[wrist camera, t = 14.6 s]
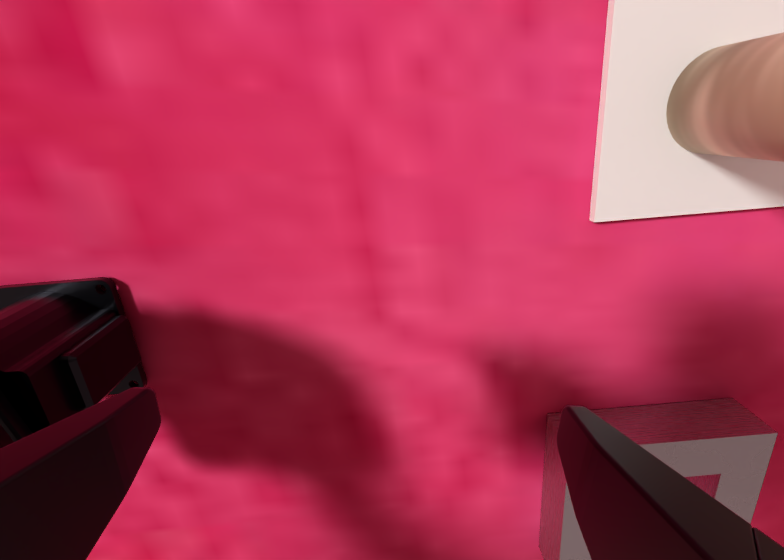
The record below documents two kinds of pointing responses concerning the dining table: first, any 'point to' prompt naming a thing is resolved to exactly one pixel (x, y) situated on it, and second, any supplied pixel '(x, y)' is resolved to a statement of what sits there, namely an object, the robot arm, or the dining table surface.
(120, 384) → the robot arm
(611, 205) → the white mat
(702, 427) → the socket block
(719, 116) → the birch peg
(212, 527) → the dining table surface
